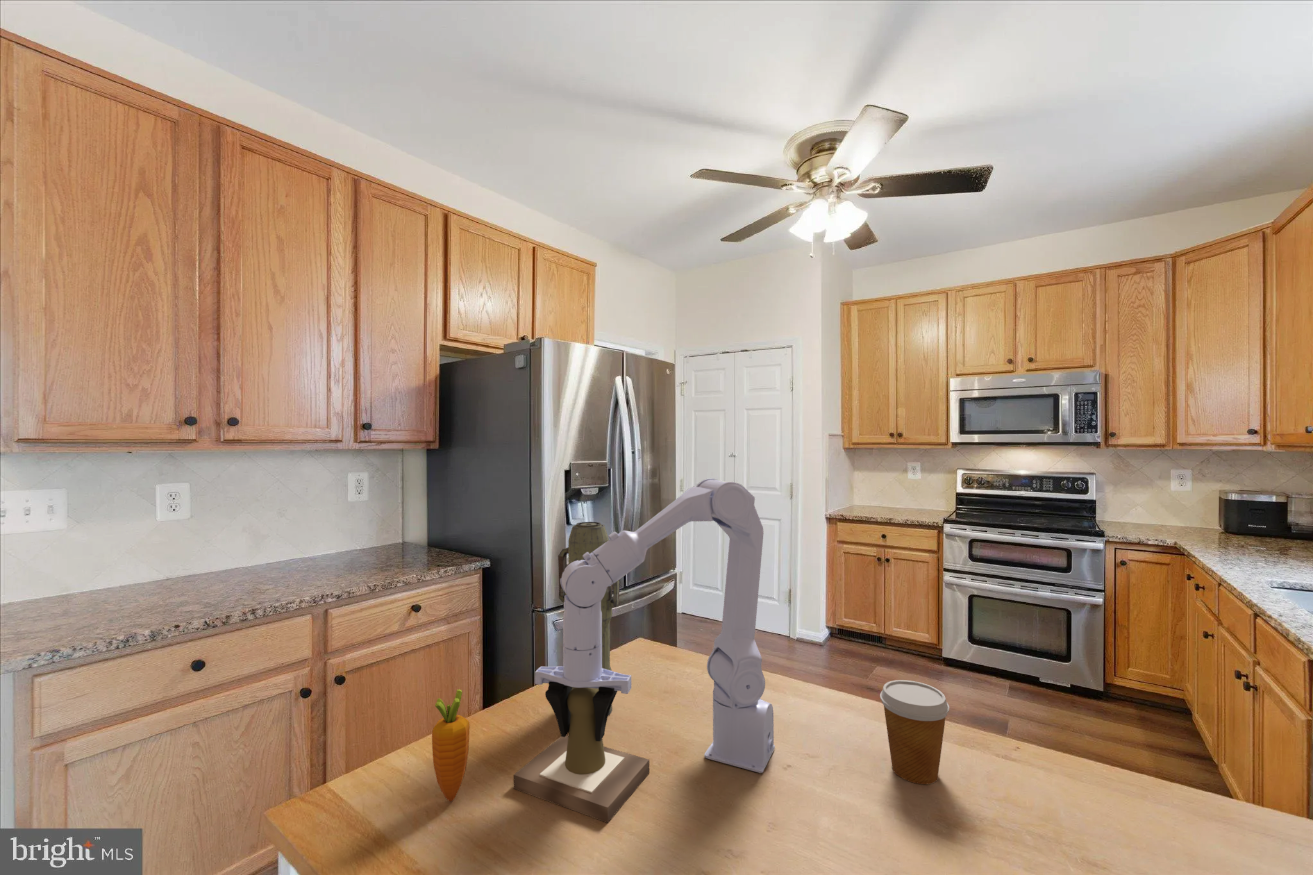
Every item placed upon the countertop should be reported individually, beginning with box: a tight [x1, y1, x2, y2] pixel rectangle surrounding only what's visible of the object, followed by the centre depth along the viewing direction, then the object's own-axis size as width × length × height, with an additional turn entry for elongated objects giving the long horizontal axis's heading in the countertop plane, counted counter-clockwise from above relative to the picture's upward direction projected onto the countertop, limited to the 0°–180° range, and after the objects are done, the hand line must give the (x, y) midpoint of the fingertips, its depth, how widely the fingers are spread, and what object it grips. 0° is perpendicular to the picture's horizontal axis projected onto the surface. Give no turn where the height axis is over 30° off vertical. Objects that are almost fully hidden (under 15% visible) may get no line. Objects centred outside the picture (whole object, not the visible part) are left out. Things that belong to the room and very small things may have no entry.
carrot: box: [431, 689, 471, 802], centre depth 75 cm, size 5×5×15 cm
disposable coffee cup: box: [879, 679, 950, 785], centre depth 82 cm, size 10×10×12 cm
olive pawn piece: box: [565, 687, 605, 774], centre depth 81 cm, size 6×6×11 cm
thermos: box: [557, 521, 620, 717], centre depth 101 cm, size 9×12×35 cm
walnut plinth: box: [513, 735, 650, 824], centre depth 80 cm, size 16×12×2 cm
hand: (582, 735), depth 80 cm, fingers closed on olive pawn piece, 5 cm apart
